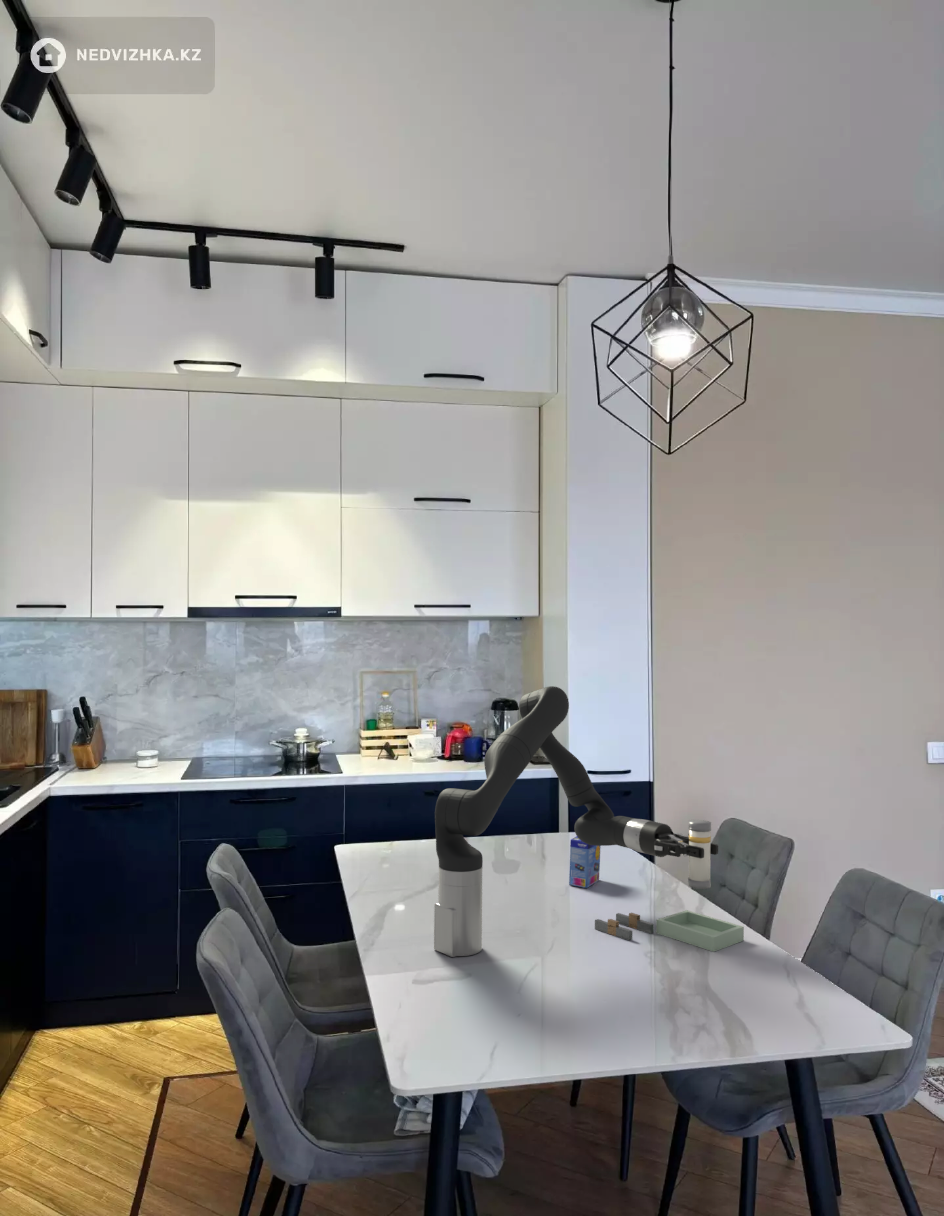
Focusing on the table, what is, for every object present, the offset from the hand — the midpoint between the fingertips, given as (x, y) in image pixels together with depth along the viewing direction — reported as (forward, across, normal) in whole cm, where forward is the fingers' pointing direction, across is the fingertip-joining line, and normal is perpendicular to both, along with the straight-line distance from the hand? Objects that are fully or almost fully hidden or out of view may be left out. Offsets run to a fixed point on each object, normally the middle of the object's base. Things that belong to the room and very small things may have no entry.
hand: (710, 851), depth 199 cm
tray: (-2, 0, +19) cm, 19 cm away
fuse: (-3, 0, +8) cm, 8 cm away
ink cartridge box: (-47, +12, +20) cm, 53 cm away
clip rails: (-15, -10, +19) cm, 27 cm away
